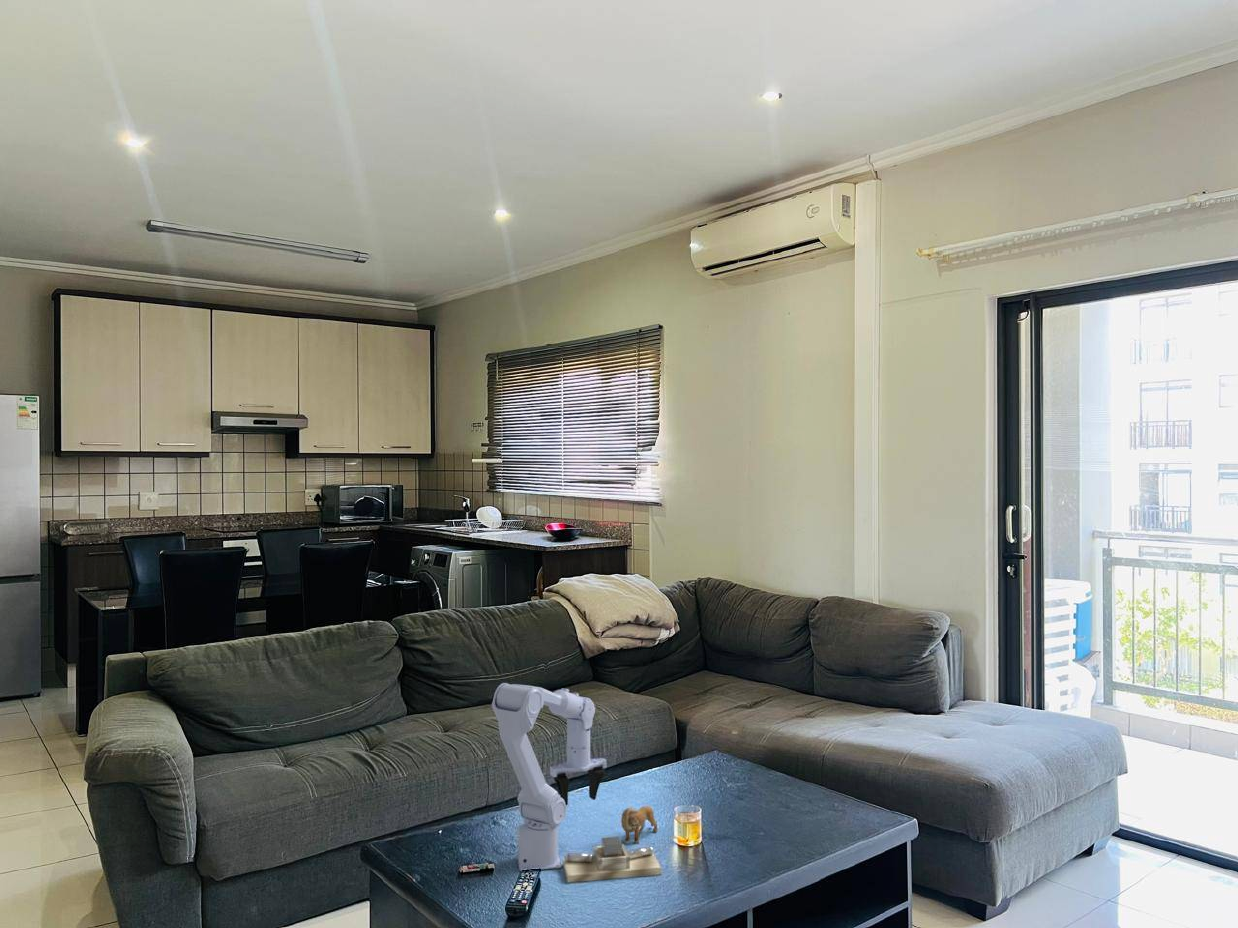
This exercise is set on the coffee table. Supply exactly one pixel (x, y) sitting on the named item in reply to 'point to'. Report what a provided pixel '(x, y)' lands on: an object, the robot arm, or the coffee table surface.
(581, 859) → the shaft left
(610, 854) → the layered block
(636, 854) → the shaft right
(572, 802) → the coffee table surface
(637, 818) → the lion figurine
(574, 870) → the shaft board
